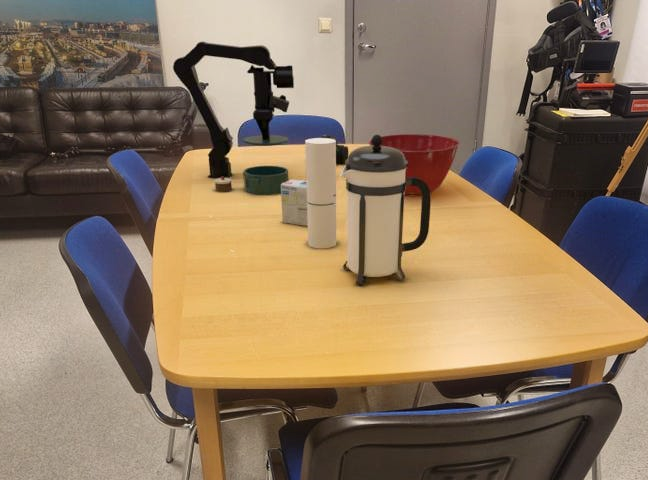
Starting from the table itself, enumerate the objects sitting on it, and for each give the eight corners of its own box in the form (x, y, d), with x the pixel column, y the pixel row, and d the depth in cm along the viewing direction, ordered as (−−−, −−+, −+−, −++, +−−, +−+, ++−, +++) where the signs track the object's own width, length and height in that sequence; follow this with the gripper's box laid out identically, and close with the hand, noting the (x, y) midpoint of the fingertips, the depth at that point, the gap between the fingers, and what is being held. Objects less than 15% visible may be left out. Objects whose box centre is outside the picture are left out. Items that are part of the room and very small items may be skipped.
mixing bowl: (355, 196, 198) (355, 145, 190) (385, 176, 221) (386, 130, 213) (442, 206, 189) (446, 153, 181) (464, 184, 212) (468, 136, 204)
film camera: (347, 168, 232) (348, 140, 227) (314, 168, 232) (313, 140, 227) (348, 158, 247) (348, 131, 242) (317, 157, 247) (316, 131, 242)
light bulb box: (327, 221, 175) (326, 182, 170) (315, 228, 170) (314, 188, 164) (293, 216, 179) (291, 178, 174) (281, 222, 174) (279, 183, 168)
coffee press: (390, 294, 131) (396, 145, 116) (327, 278, 139) (325, 136, 124) (427, 268, 144) (436, 131, 129) (367, 255, 151) (370, 124, 137)
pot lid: (236, 145, 211) (234, 127, 208) (254, 137, 224) (253, 120, 221) (278, 148, 207) (277, 130, 204) (295, 139, 220) (294, 122, 217)
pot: (234, 195, 198) (232, 176, 196) (257, 180, 215) (256, 162, 212) (277, 198, 195) (276, 179, 193) (297, 183, 212) (296, 165, 209)
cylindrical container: (340, 241, 161) (340, 139, 148) (330, 249, 155) (329, 144, 142) (314, 237, 163) (312, 137, 150) (303, 246, 157) (300, 142, 144)
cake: (212, 191, 202) (211, 177, 200) (219, 187, 207) (218, 173, 205) (228, 192, 201) (226, 178, 199) (234, 188, 206) (233, 174, 203)
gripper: (286, 91, 199) (288, 142, 207) (287, 85, 215) (289, 132, 223) (251, 91, 199) (254, 142, 206) (255, 85, 215) (258, 132, 222)
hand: (265, 137), depth 215 cm, fingers closed on pot lid, 3 cm apart
